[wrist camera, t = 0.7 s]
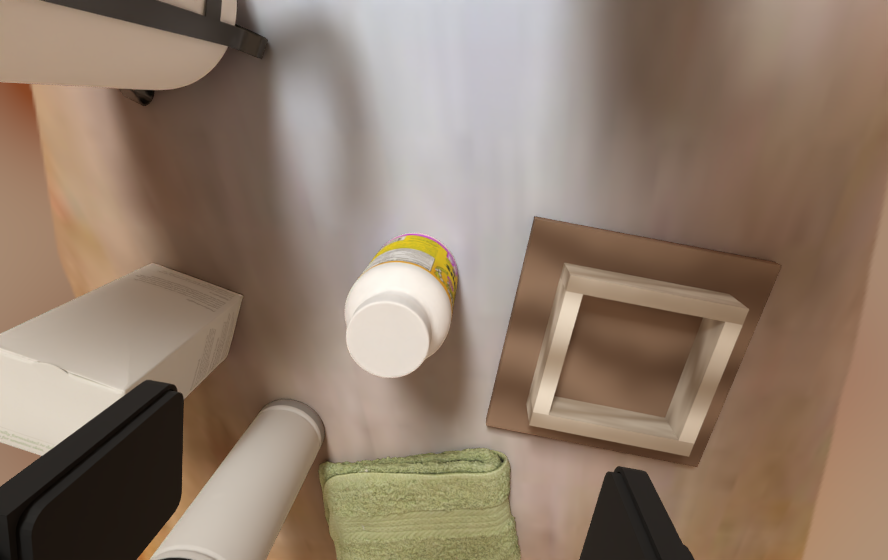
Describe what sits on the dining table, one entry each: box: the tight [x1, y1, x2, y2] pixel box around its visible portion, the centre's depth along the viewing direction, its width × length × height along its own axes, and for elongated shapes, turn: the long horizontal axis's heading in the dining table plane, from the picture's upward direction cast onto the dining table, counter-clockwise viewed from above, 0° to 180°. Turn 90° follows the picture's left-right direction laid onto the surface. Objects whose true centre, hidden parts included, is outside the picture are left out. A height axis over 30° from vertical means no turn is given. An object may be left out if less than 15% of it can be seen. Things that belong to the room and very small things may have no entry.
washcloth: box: [318, 448, 521, 560], centre depth 46 cm, size 13×18×3 cm
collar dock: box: [486, 216, 781, 467], centre depth 39 cm, size 18×18×4 cm
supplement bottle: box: [344, 233, 458, 378], centre depth 34 cm, size 7×7×13 cm
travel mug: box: [150, 399, 325, 560], centre depth 36 cm, size 6×7×20 cm
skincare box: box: [0, 263, 243, 456], centre depth 35 cm, size 8×7×16 cm
